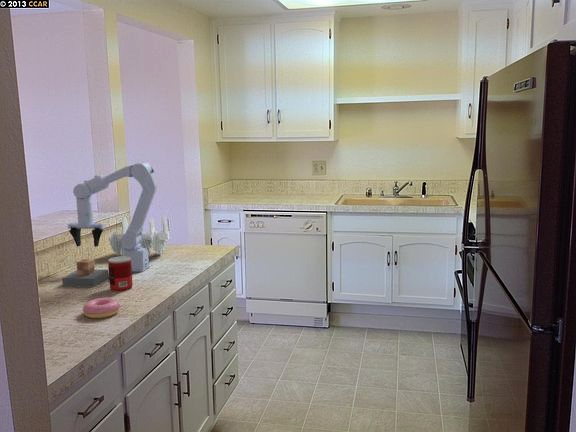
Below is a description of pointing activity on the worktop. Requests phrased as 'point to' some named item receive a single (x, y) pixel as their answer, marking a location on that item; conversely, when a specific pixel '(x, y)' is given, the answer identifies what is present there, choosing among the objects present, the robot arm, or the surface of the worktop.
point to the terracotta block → (85, 267)
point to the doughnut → (101, 307)
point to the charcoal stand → (85, 278)
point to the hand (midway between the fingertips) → (87, 246)
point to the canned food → (120, 273)
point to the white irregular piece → (148, 238)
